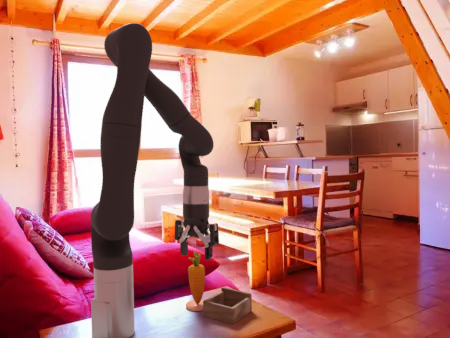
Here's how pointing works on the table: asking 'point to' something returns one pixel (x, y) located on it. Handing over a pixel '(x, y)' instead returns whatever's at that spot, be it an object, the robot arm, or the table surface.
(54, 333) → the table surface
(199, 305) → the peach dome
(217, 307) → the brown open box
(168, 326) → the table surface
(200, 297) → the carrot
